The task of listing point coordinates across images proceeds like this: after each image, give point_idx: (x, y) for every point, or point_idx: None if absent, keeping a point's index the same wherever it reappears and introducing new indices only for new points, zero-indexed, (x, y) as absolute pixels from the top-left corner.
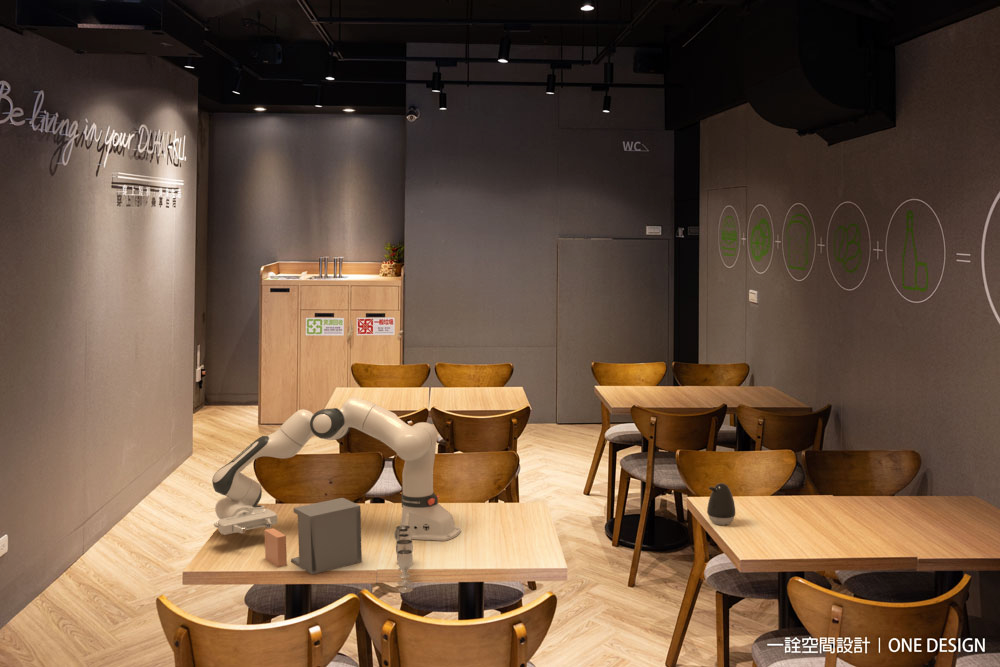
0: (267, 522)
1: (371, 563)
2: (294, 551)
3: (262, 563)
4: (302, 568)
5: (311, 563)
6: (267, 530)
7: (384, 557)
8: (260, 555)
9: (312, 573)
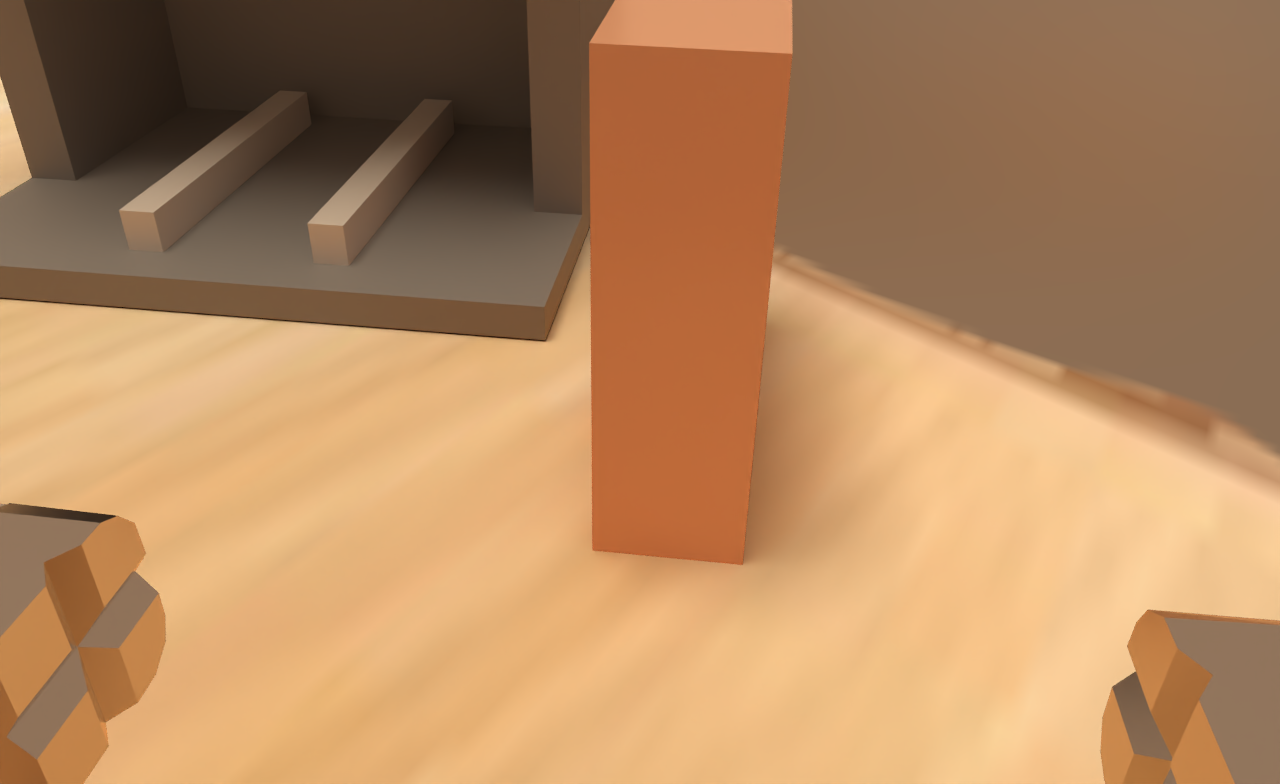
0: (7, 567)
1: None
2: (217, 527)
3: (860, 474)
4: None
5: None
6: (755, 32)
7: None
8: (728, 738)
9: None
